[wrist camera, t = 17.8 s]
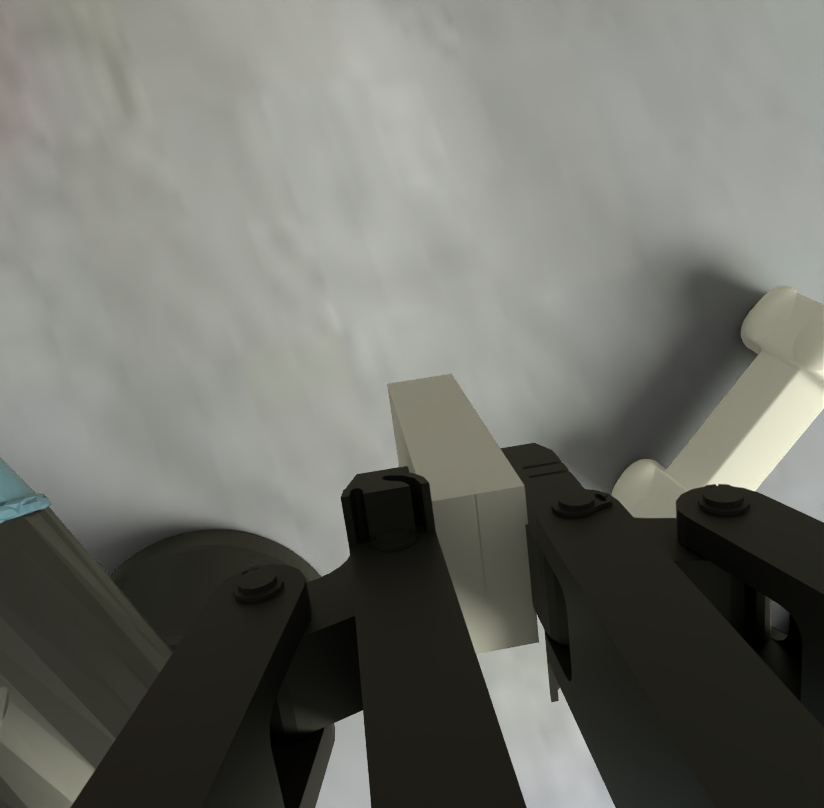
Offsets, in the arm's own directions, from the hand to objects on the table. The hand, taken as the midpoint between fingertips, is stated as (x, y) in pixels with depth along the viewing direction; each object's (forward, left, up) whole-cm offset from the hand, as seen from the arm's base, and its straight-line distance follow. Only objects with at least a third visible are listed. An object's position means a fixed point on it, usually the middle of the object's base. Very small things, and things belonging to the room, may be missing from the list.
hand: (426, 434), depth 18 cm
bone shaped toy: (+19, -11, -25) cm, 33 cm away
